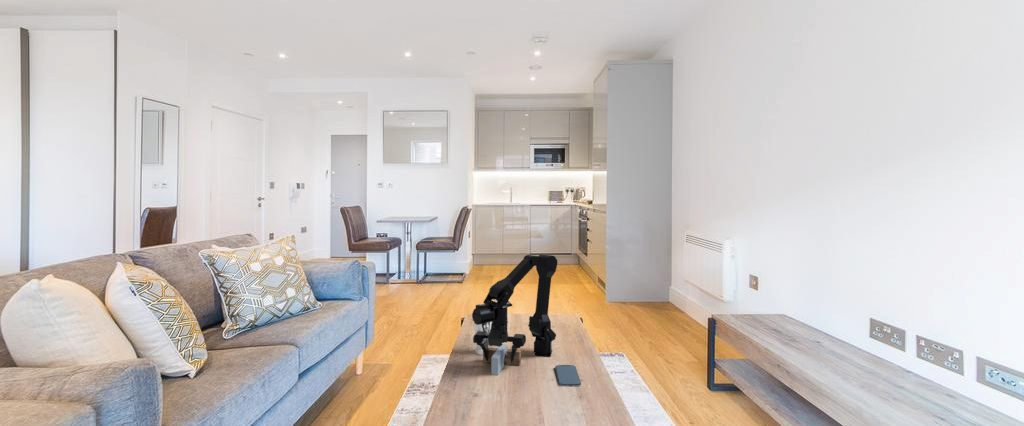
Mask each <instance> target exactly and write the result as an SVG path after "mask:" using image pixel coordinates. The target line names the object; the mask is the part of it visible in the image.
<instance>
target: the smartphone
mask: <svg viewBox="0 0 1024 426" xmlns="http://www.w3.org/2000/svg"><path fill="white" fill-rule="evenodd" d="M554 370H555V374H556V378H557V383H558V386H560V387H581V386H582V383H581V379H580V376H579V373H578V369H577V367H576V365H573V364H557V365H555V367H554ZM580 385H581V386H580Z"/></svg>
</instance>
